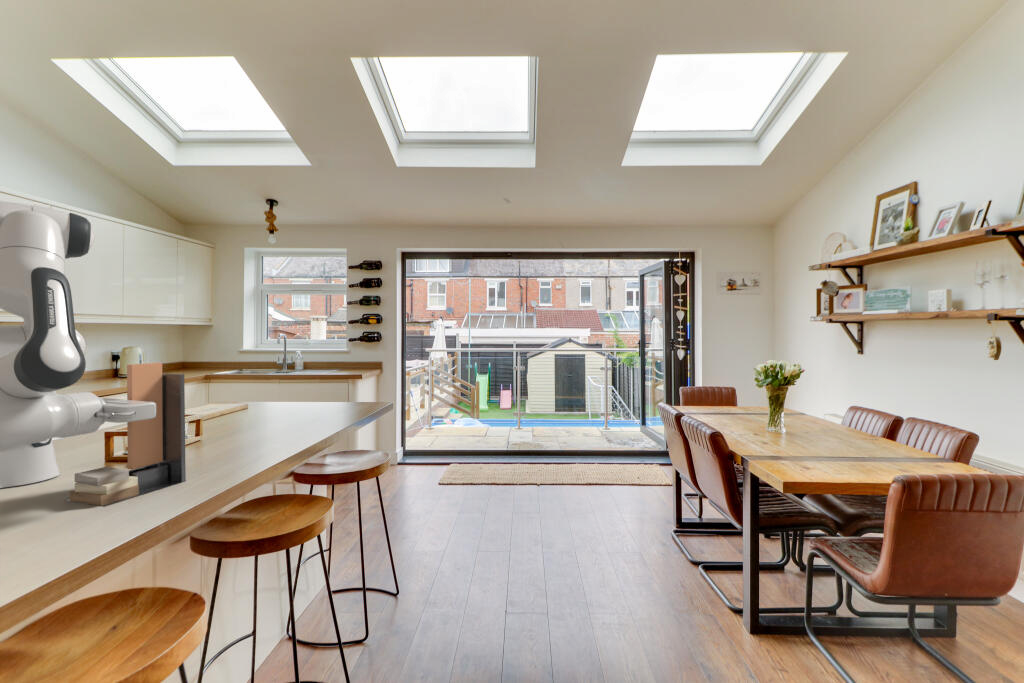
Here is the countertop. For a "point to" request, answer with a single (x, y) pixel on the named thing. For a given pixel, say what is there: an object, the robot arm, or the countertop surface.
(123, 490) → the offcut stack
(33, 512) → the countertop surface
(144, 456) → the sheet
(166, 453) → the rack
